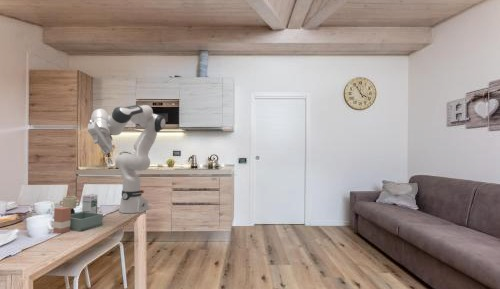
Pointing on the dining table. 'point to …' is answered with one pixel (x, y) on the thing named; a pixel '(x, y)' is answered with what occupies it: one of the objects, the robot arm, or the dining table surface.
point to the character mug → (70, 203)
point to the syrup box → (89, 203)
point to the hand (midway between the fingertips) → (100, 148)
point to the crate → (85, 221)
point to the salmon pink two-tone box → (62, 219)
